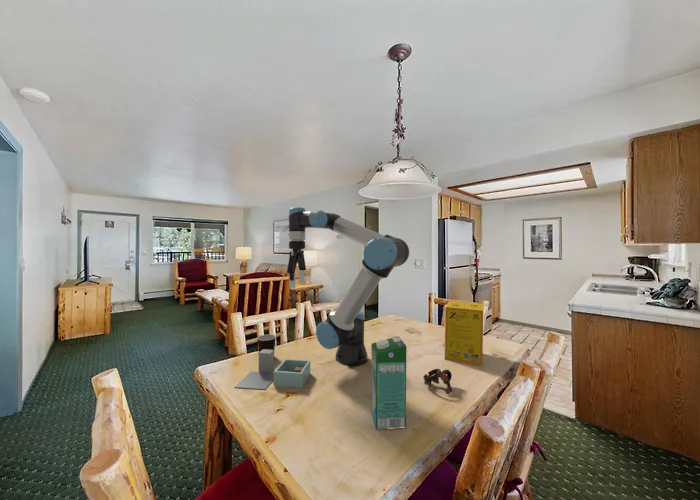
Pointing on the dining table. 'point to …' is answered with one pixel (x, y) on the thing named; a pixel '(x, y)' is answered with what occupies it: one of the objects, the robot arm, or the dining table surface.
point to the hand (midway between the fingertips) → (297, 285)
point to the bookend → (260, 373)
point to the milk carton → (388, 383)
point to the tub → (291, 373)
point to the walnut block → (299, 368)
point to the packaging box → (464, 332)
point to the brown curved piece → (436, 376)
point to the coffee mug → (266, 342)
